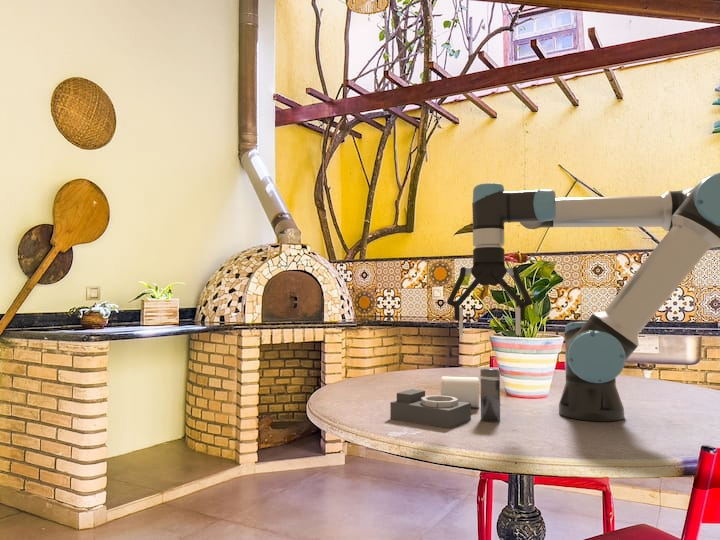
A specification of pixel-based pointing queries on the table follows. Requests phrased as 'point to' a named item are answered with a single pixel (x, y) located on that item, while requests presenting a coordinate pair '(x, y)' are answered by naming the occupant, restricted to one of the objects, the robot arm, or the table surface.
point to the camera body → (429, 409)
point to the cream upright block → (461, 389)
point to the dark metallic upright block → (490, 394)
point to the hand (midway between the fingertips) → (489, 334)
